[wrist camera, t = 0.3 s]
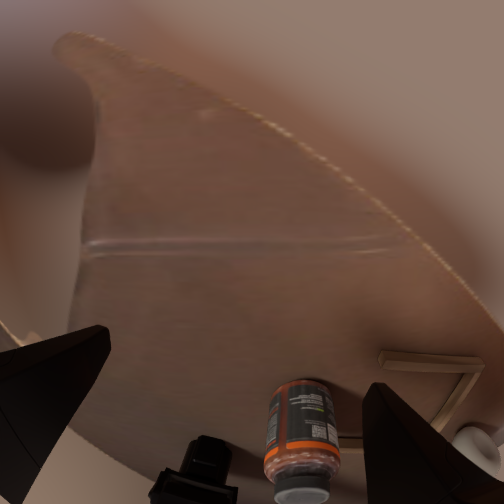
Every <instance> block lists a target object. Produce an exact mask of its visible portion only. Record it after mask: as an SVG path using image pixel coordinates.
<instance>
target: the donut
mask: <svg viewBox="0 0 504 504" xmlns="http://www.w3.org/2000/svg"><path fill="white" fill-rule="evenodd" d="M452 445H453V446H454V447H455V448H456V449H457V450H458V451H460V452H461V453H462V454H463V455H464V456H466V457H467V458H468V459H469V460H471V461H472V462H473V463H475V464H476V465H477V466H479V467H480V468H482V469H483V470H484V471H486V472H487V473H488V474H490V475H491V476H493V477H495V476H496V474H497V472H498V471H499V469H500V466H501V458H500V453H499V451H498V448H497V446H496V445H495V443H494V441H493V440H492V439H491V438H490V437H489V436H488V435H487V434H486V433H485V432H484V431H482V430H481V429H479V428H476V427H465V428H463V429H462V430H460V431H459V432H458V433H457V434H456V435H455V437H454V439H453V442H452Z"/></svg>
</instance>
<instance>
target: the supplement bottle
mask: <svg viewBox="0 0 504 504" xmlns="http://www.w3.org/2000/svg"><path fill="white" fill-rule="evenodd" d="M339 469H340V455H339V445H338V437H337V429H336V421H335V414H334V406H333V400H332V396H331V393H330V391H329V389H328V388H327V387H326V386H324V385H323V384H321V383H319V382H316V381H312V380H296V381H292V382H289V383H286V384H284V385H282V386H280V387H279V388H278V389H277V390H276V391H275V392H274V394H273V395H272V398H271V402H270V409H269V420H268V430H267V440H266V450H265V460H264V472H265V475H266V476H267V478H268V479H269V480H270V481H271V482H273V483H275V484H276V485H275V486H274V490H275V491H274V500H275V501H276V502H277V503H279V504H320V503H322V502H324V501H326V500H327V499H328V498H329V496H330V483H329V480H331V479H332V478H334V476H335V475H336V474H337V473H338V471H339Z"/></svg>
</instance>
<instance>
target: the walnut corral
mask: <svg viewBox="0 0 504 504" xmlns="http://www.w3.org/2000/svg"><path fill="white" fill-rule="evenodd" d="M378 361H379V364H380V367H381V369H386V370H399V371H415V372H439V373H465V374H464V375H463V377H462V379H461V380H460V382H459V384H458V385H457V387H456V388H455V390H454V391H453V393H452V394H451V396H450V397H449V399H448V400H447V402H446V403H445V405H444V406H443V407H442V409H441V410H440V412H439V413H438V414H437V416H436V417H435V418H434V420H433V421H432V422H431V424H430V425H431V426H432V427H433V428H434V429H435V430H436V431H437V432H440V431H441V430H442V428H443V427H444V426H445V425H446V423H447V422H448V421H449V419H450V418H451V417H452V416H453V414H454V413H455V412H456V410H457V409H458V407H459V406H460V405H461V403H462V402H463V400H464V399H465V397H466V396H467V394H468V393H469V391H470V390H471V388H472V387H473V385H474V384H475V382H476V381H477V379H478V377H479V376H480V374H481V373H482V371H483V369H484V367H485V366H486V364H485V363H484V362H483V360H482V359H481V358H480V357H463V356H444V355H429V354H417V353H405V352H395V351H386V350H381V353H380V355H379V357H378ZM338 445H339V453H364V451H363V439H343V438H338Z"/></svg>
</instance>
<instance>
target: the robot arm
mask: <svg viewBox="0 0 504 504" xmlns="http://www.w3.org/2000/svg"><path fill="white" fill-rule="evenodd" d="M110 351H111V341H110V333H109V329H108V328H107V327H104V326H101V325H95V326H91V327H88V328H85V329H81V330H78V331H75V332H71V333H68V334H64V335H62V336H58V337H54V338H51V339H47V340H44V341H40V342H37V343H33V344H30V345H26V346H23V347H19V348H17V349H12V350H8V351H4V352H0V495H1V496H2V497H3V498H4V499H6V500H7V501H8V502H9V503H10V504H22V503H23V501H24V499H25V497H26V495H27V494H28V492H29V490H30V488H31V486H32V484H33V483H34V481H35V479H36V477H37V475H38V473H39V472H40V470H41V469H40V468H42V466H43V464H44V463H45V461H46V459H47V457H48V456H49V454H50V453H51V451H52V449H53V448H54V446H55V444H56V443H57V441H58V439H59V438H60V436H61V434H62V433H63V431H64V430H65V428H66V426H67V425H68V423H69V422H70V420H71V418H72V417H73V415H74V414H75V412H76V411H77V409H78V408H79V406H80V404H81V403H82V401H83V400H84V398H85V397H86V395H87V394H88V392H89V391H90V389H91V388H92V386H93V384H94V383H95V381H96V379H97V377H98V375H99V373H100V371H101V369H102V367H103V365H104V363H105V361H106V359H107V358H108V356H109V354H110ZM362 421H363V451H364V460H365V470H366V481H367V493H368V504H504V482H502V481H499V480H497V479H496V478H494V477H493V476H491V475H490V474H488V473H487V472H486V471H484V470H483V469H482V468H480V467H479V466H477V465H476V464H475V463H473V462H472V461H471V460H469V459H468V458H467V457H466V456H464V455H463V454H462V453H461V452H460V451H458V450H457V449H456V448H455V447H454V446H453V445H452V444H451V443H450V442H447V440H446V439H445V438H444V437H443V436H442V435H441V434H440V433H439V432H437V431H436V430H435V429H434V428H433V427H432V426H431V425H430V424H429V423H428V422H426V421H425V420H424V419H423V418H422V417H421V416H420V415H419V414H418V413H417V412H416V411H415V410H413V409H412V408H411V407H410V406H409V405H408V404H407V403H406V402H405V401H404V400H403V399H401V398H400V397H399V396H398V395H397V394H396V393H395V392H394V391H393V390H392V389H391V388H390V387H388V386H387V385H386V384H385V383H380V382H374V383H372V384H371V386H370V388H369V390H368V392H367V394H366V396H365V397H364V399H363V403H362ZM231 458H232V452H231V451H230V450H229V449H228V448H227V447H226V446H225V442H223V441H222V440H220V439H216V438H212V437H207V436H204V435H201V436H199V437H198V439H197V440H193V441H191V442H190V443H189V446H188V448H187V451H186V454H185V456H184V459H183V462H182V465H181V467H180V470H179V472H177V471H174V470H171V469H170V468H167V467H166V469H165V471H161V472H160V474H159V477H158V479H157V481H156V483H155V484H154V486H153V488H152V489H151V490H150V492H149V494H148V497H149V498H150V500H151V501H150V503H151V504H236V502H237V494H238V487H231V486H227V485H225V484H226V480H227V476H228V471H229V467H230V462H231Z"/></svg>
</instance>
